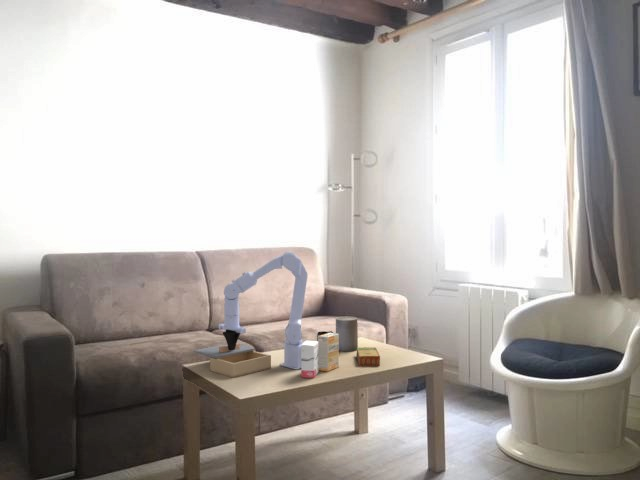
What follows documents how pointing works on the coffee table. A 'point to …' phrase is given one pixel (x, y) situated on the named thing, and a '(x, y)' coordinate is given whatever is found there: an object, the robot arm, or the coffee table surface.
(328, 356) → the supplement box
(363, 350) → the carton
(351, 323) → the pillar candle
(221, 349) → the lid
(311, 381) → the coffee table surface
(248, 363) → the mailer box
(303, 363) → the ink box
